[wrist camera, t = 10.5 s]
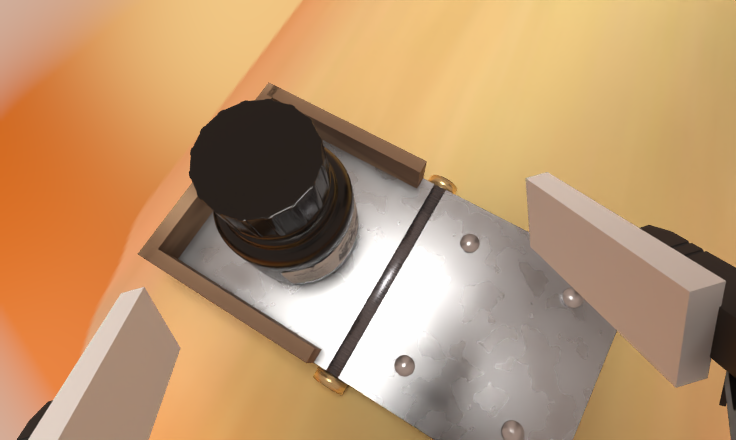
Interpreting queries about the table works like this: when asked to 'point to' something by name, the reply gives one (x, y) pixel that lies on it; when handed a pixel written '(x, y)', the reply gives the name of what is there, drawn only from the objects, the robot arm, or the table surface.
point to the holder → (195, 212)
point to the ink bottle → (275, 191)
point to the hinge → (435, 314)
